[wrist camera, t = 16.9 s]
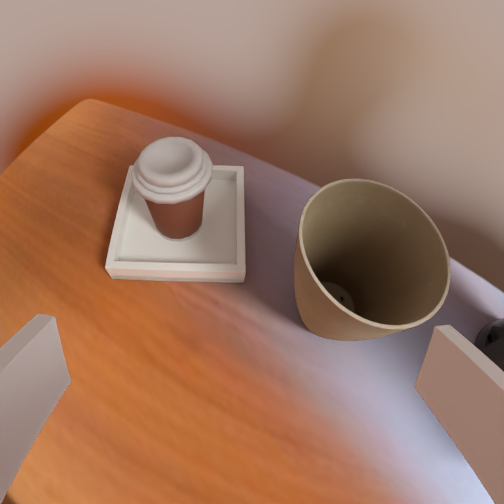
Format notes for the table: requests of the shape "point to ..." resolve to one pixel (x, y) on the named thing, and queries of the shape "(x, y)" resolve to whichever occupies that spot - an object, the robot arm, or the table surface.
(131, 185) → the tray
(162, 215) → the coffee cup
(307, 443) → the table surface
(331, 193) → the plant pot
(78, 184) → the table surface
